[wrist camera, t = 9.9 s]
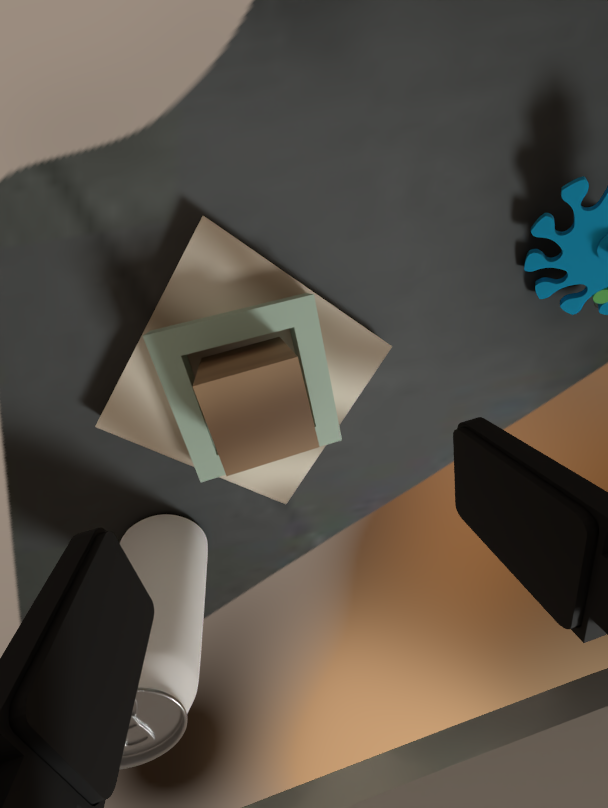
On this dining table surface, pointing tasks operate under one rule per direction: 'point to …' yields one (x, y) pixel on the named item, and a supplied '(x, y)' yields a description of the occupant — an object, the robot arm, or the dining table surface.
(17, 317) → the dining table surface
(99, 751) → the robot arm
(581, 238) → the gear
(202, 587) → the can
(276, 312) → the pocket
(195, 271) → the board
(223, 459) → the block
